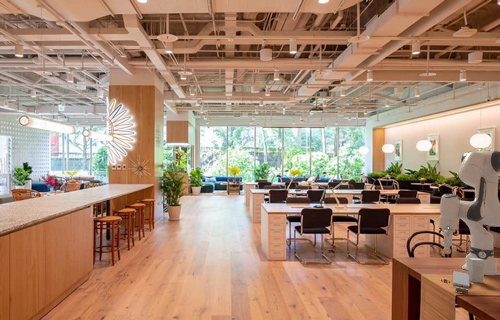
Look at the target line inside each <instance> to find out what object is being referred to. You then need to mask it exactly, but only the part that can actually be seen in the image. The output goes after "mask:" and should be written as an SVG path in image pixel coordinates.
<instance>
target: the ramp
mask: <svg viewBox="0 0 500 320" xmlns="http://www.w3.org/2000/svg"><path fill="white" fill-rule="evenodd" d="M452 285H453V286H456V287H462V286H463V287H462V288H466V289H469V288H470V281H469V275H468V272H467V273H465V272H459V271H456V270H455V271H452Z"/></svg>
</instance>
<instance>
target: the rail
mask: <svg viewBox="0 0 500 320" xmlns="http://www.w3.org/2000/svg"><path fill="white" fill-rule="evenodd" d="M461 288H462V287H459V288H456V287H455V292H456V291H457V292H462V293H465V294H464V295H467V294H468V295H469V290H466V289H467V288H464V289H461ZM457 292H456V293H457ZM462 293H461V294H462Z"/></svg>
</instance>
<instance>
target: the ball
mask: <svg viewBox="0 0 500 320" xmlns="http://www.w3.org/2000/svg"><path fill="white" fill-rule="evenodd" d="M443 253H444V254H446V255H449V254H451V253H452V249H451V248H450V249H449V252H446V251H445V247H444V248H443Z"/></svg>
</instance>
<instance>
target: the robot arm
mask: <svg viewBox="0 0 500 320" xmlns="http://www.w3.org/2000/svg"><path fill="white" fill-rule="evenodd" d="M499 172H500V151H498V150H494V151H493V150H479V151H478V150H477V151H467V152H464V153H463V154H462V155H461V164H460V166H459V169H458V174H457V175H458V178H459V180H461V182H463V183H464V184H465V185H468V186H470V187H472V188H474V189H475V190H474V200H473V201H472V200H471V201H467V200H461V199H459V195H457V194H453V193H444V194H443V195H441V198H440V206H439V212H440V215H439V218H438V219H439V220H438V221H439V222H438V228H440V229H441V231H442V232H443V246H444V248H445V251H446V252H449V249H451V247H452V245H453V233H456V231H457V230H459V220H460V219H461V220H462V221H463V222H464V223H465V224H466V225H467V227H468V228H469V231H470V245H469V253H468V254H466V256H465V258H464V260H465V263H464V264H463V265H462V266H461V269H463V270H466V271H468V262H469V258H480V259H482V260H484V276H500V271H498V269H497V264H498V263H497V262H498V261H497V259H496V258H495V257H494V256H495V250H494V243H495V242H494V241H495V237H494V235H493V234H492V233H491V232H489V231H487V230H486V229H485V227H484V226H489V227H490V226H492V227H500V201H499V196H498V194H499V192H498V189H499Z"/></svg>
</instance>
